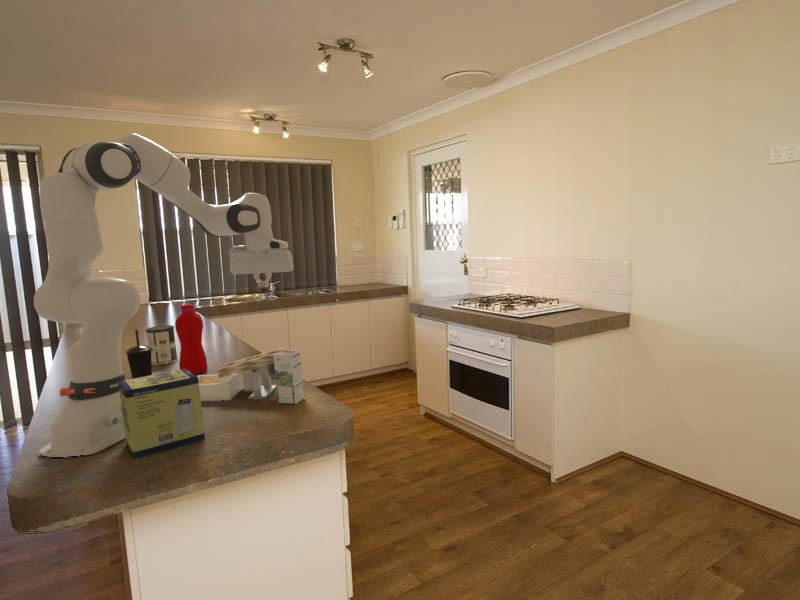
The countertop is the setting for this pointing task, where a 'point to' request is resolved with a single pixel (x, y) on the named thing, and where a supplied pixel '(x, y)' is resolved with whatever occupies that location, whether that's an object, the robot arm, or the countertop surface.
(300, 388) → the syrup box
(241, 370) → the lever
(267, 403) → the countertop surface
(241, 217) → the robot arm
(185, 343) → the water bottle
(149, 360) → the drinking cup
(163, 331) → the coffee can
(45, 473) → the countertop surface
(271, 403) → the countertop surface
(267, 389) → the pivot stand
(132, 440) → the protein box
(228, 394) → the white open tray
